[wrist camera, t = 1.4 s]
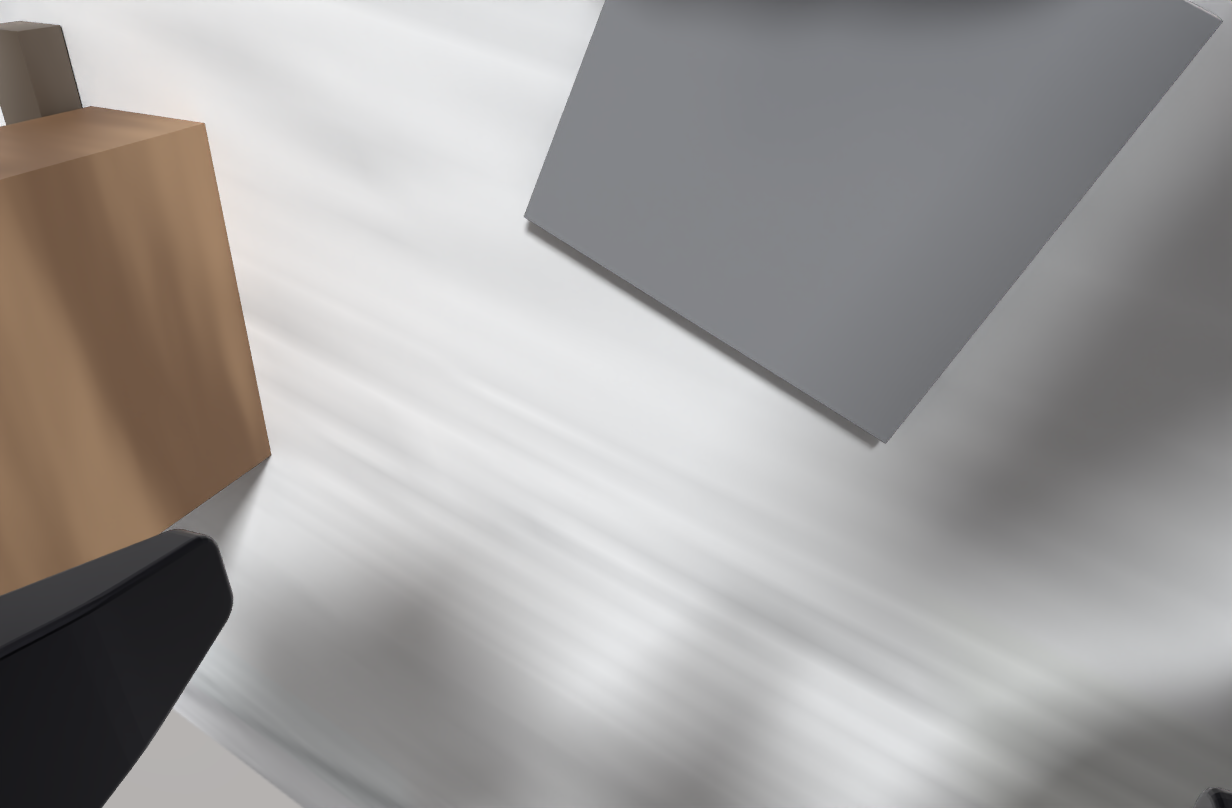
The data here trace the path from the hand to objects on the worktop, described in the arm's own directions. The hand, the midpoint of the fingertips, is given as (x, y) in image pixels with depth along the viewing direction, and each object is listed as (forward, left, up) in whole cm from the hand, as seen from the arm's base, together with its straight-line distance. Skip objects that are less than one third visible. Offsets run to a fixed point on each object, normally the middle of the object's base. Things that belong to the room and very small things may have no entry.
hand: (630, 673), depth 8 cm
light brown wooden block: (+13, +14, -12) cm, 23 cm away
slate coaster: (+2, -1, -12) cm, 12 cm away
